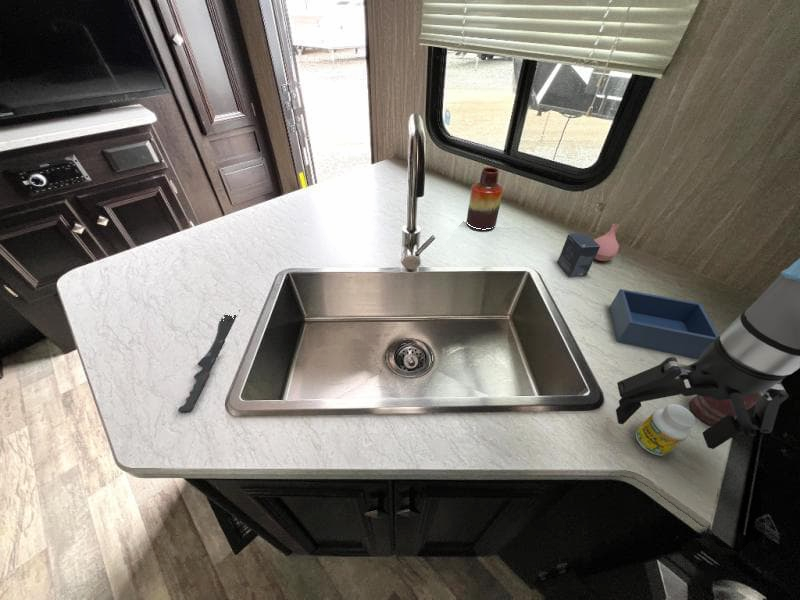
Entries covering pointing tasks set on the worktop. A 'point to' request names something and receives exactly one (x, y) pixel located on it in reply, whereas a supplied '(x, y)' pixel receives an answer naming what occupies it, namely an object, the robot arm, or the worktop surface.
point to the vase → (485, 201)
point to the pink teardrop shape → (607, 245)
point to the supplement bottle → (665, 429)
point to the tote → (661, 323)
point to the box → (578, 254)
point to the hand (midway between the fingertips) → (661, 428)
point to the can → (717, 407)
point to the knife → (208, 362)
